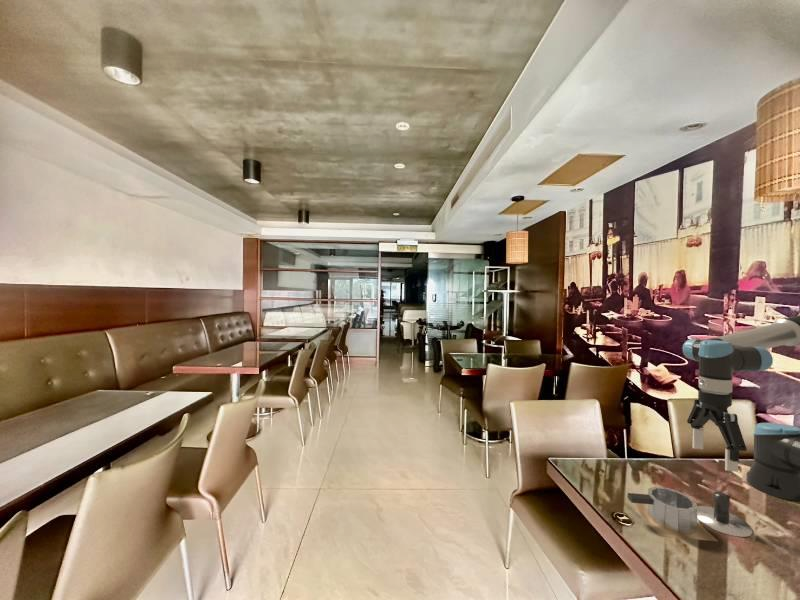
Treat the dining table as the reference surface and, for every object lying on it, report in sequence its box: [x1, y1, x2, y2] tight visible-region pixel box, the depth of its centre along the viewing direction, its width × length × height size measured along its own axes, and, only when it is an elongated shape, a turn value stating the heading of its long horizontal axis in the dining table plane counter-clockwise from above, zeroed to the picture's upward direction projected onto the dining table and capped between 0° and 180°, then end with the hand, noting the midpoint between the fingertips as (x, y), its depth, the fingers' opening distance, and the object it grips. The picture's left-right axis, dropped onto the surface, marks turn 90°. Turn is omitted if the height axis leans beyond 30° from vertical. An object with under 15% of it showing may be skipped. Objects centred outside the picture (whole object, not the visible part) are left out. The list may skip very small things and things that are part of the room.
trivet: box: [631, 502, 718, 542], centre depth 102 cm, size 15×15×1 cm
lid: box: [697, 491, 753, 538], centre depth 101 cm, size 13×13×9 cm
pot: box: [627, 486, 698, 535], centre depth 102 cm, size 18×12×7 cm, turn 81°
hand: (713, 459), depth 102 cm, fingers open, 13 cm apart
